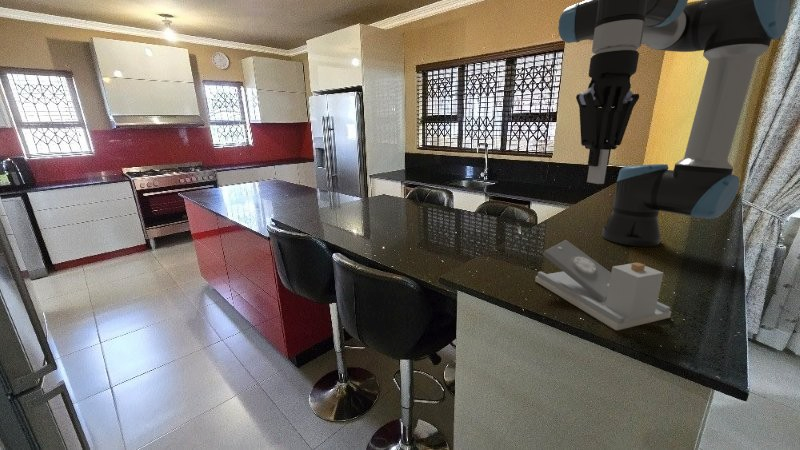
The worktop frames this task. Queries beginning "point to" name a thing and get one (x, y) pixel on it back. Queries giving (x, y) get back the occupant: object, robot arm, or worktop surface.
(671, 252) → the worktop surface
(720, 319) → the worktop surface
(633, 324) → the rail board
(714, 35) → the robot arm
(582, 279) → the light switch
